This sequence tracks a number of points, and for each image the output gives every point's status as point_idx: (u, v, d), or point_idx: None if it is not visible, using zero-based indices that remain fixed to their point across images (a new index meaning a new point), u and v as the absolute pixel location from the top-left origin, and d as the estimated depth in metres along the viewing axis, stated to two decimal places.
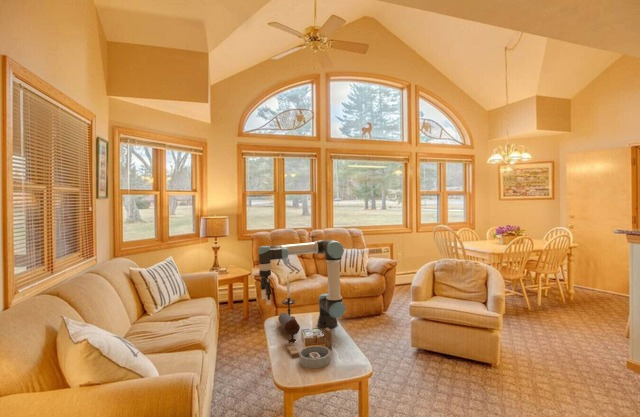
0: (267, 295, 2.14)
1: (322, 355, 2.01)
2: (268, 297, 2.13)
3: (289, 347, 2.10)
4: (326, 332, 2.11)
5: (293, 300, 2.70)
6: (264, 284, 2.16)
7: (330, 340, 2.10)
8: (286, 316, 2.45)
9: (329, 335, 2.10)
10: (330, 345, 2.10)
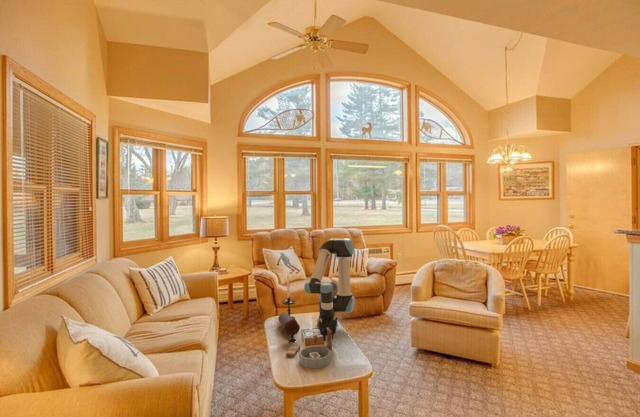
0: None
1: (322, 355, 2.01)
2: (323, 337, 2.12)
3: (292, 346, 2.11)
4: (326, 332, 2.11)
5: (293, 300, 2.70)
6: (323, 323, 2.13)
7: (330, 340, 2.10)
8: (286, 316, 2.45)
9: (329, 335, 2.10)
10: (330, 345, 2.11)
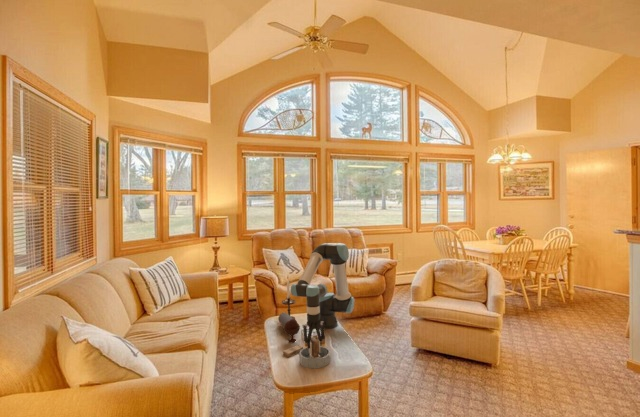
0: None
1: (322, 355, 2.01)
2: (307, 345, 1.95)
3: (296, 346, 2.11)
4: (312, 343, 1.94)
5: (293, 300, 2.70)
6: None
7: (317, 351, 1.94)
8: (286, 316, 2.45)
9: (316, 346, 1.93)
10: None
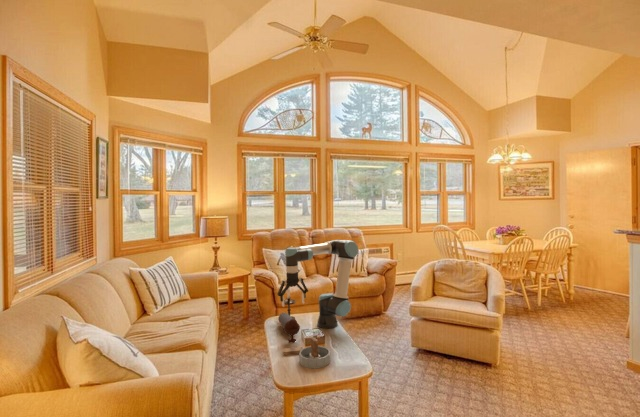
0: None
1: (322, 355, 2.01)
2: (280, 298, 2.14)
3: (298, 347, 2.10)
4: (312, 342, 1.95)
5: (293, 300, 2.70)
6: None
7: (317, 351, 1.94)
8: (286, 316, 2.45)
9: (316, 346, 1.94)
10: None
